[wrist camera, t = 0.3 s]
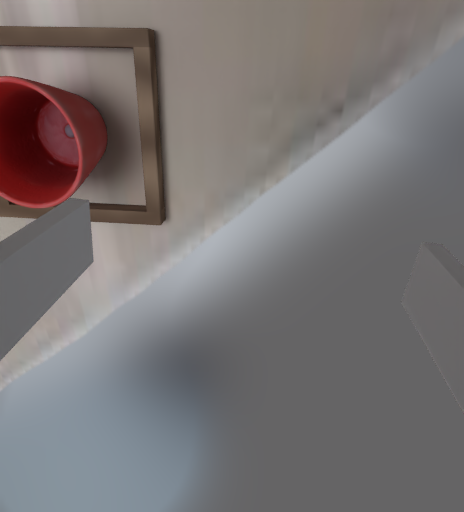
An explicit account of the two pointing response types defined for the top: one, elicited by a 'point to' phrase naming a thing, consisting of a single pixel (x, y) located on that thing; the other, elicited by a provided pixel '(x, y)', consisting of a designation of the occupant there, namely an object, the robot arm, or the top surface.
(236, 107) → the top surface
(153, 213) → the holder frame
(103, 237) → the top surface
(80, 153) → the flower pot
